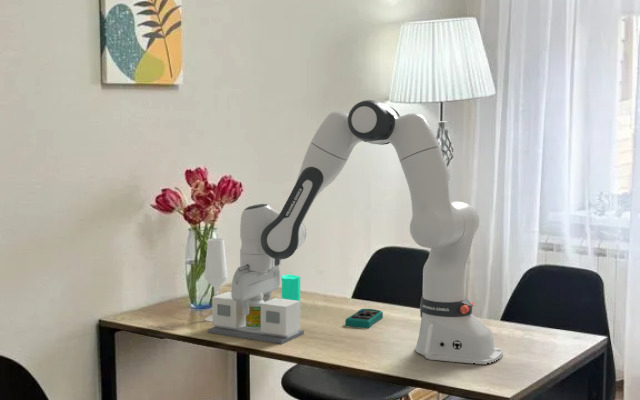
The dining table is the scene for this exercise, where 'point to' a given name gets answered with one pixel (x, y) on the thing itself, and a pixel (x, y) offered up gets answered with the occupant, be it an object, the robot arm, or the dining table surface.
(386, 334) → the dining table surface
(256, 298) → the supplement bottle
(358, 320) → the digital multimeter
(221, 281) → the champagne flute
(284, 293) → the candle
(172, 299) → the dining table surface
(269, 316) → the board
